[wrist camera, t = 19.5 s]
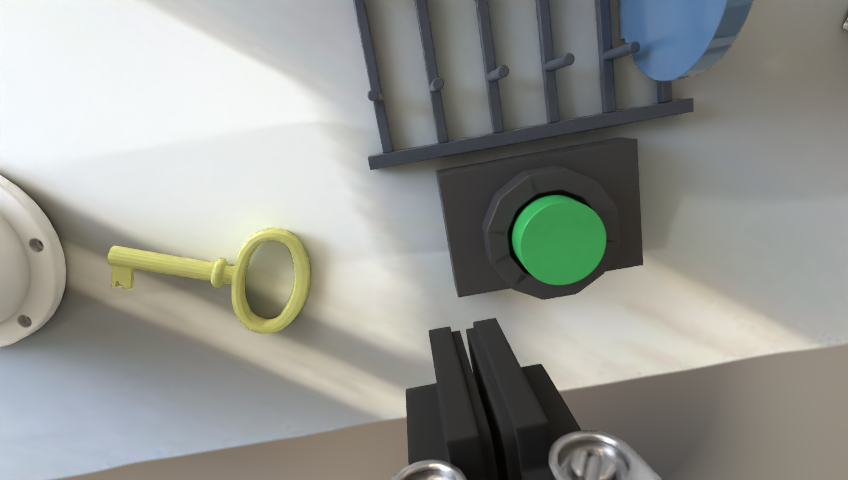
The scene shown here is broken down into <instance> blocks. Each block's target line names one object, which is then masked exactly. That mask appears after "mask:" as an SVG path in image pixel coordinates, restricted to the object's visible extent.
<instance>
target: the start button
mask: <svg viewBox="0 0 848 480" xmlns="http://www.w3.org/2000/svg"><path fill="white" fill-rule="evenodd" d="M512 245H513V249H514V252H515V254H516V256H517V257H518V259H519V260H520V261H521V263H522V264H523V265H524V267H525V268H526V269H527V270H528V272H529V273H530V274H531V275H532V276H534V277H535V278H536V279H538V280H540V281H542V282H544V283H547V284H552V285H567V284H571V283H574V282H577V281H579V280H581V279H583V278H585V277H586V276H588V275H589V274H590V273H591V272H592V271H593V270H594V269H595V268H596V267H597V266H598V264H599V263H600V261H601V259H602V257H603V255H604V252H605V248H606V231H605V227H604V225H603V222H602V220H601V219H600V217H599V216H598V215H597V213H596V212H595V211H593V210H592V209H591V208H589V207H588V206H586V205H584V204H582V203H580V202H578V201H576V200H574V199H572V198H570V197H566V196H562V195H549V196H544V197H541V198H539V199H536V200H535V201H533V202H531V203H530V204H528V205H527V206H526V207H525V208H524V209H523V210H522V211H521V213H520V214H519V216H518V217H517V219H516V221H515V223H514V226H513V230H512Z"/></svg>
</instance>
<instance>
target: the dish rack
mask: <svg viewBox="0 0 848 480" xmlns="http://www.w3.org/2000/svg"><path fill="white" fill-rule="evenodd" d="M353 1H354V6H355V11H356V17H357V22H358V27H359V32H360V37H361V42H362V47H363V52H364V57H365V62H366V67H367V72H368V77H369V82H370V88H371V90H370V91H369V92H368V98H369V100H371V101H373V103H374V108H375V113H376V118H377V123H378V128H379V133H380V138H381V143H382V148H383V153H381V154H375V155H370V156H369V157H368V161H369V166H370V169H371V170H373V169H378V168H384V167H389V166H395V165H400V164H406V163H411V162H417V161H422V160H428V159H434V158H439V157H445V156H450V155H456V154H461V153H467V152H472V151H478V150H483V149H489V148H494V147H500V146H505V145H511V144H516V143H522V142H527V141H533V140H538V139H544V138H549V137H555V136H560V135H566V134H572V133H577V132H583V131H588V130H594V129H599V128H605V127H610V126H616V125H621V124H627V123H632V122H638V121H643V120H649V119H654V118H660V117H665V116H671V115H676V114H682V113H687V112H692V111H693V98H686V99H678V100H672V89H671V81H657V87H658V103H656V104H650V105H645V106H639V107H634V108H628V109H623V110H617V111H616V108H615V91H614V75H613V59H617V58H620V57H624V56H627V55H631V54H634V53H637V52H638V51H639V50H640V44H639V42H637V41H633V42H630V43H627V44H624V45H621V46H618V47H615V48H613V49H612V41H611V25H610V8H609V0H595V5H596V20H597V35H598V50H599V65H600V80H601V94H602V109H603V113H601V114H595V115H590V116H584V117H579V118H573V119H568V120H562V121H559V110H558V99H557V88H556V77H555V70H557V69H560V68H563V67H566V66H569V65H571V64H573V62H574V56H573V54H571V53H568V54H565V55H563V56H560V57H558V58H555V59H554V56H553V45H552V34H551V23H550V12H549V1H548V0H536V9H537V19H538V29H539V39H540V50H541V60H542V70H543V80H544V90H545V100H546V110H547V120H548V123H546V124H540V125H535V126H529V127H524V128H518V129H513V130H507V131H504V129H503V121H502V113H501V105H500V97H499V89H498V81H497V80H499V79H501V78H504V77H506V76H507V75H508V74H509V69H508V67H507V66H505V65H502V66H500V67H498V68H497V69H496V65H495V57H494V49H493V41H492V33H491V25H490V17H489V9H488V1H487V0H475V1H476V8H477V16H478V23H479V31H480V39H481V46H482V54H483V61H484V69H485V77H486V84H487V92H488V99H489V107H490V115H491V122H492V130H493V133H491V134H485V135H480V136H474V137H469V138H463V139H458V140H452V141H448V137H447V130H446V124H445V118H444V111H443V105H442V99H441V92H440V89H441V88H442V87H443V85H444V81H443V79H442V78H439V77H438V73H437V67H436V61H435V54H434V48H433V42H432V35H431V29H430V23H429V16H428V10H427V4H426V0H415V4H416V10H417V16H418V22H419V28H420V34H421V41H422V47H423V53H424V59H425V65H426V71H427V77H428V83H429V89H430V95H431V101H432V108H433V114H434V120H435V126H436V132H437V138H438V143H436V144H430V145H425V146H419V147H414V148H408V149H403V150H397V151H393V147H392V142H391V137H390V132H389V127H388V121H387V116H386V111H385V106H384V100H383V95H382V90H381V85H380V79H379V74H378V69H377V64H376V59H375V53H374V48H373V43H372V38H371V32H370V27H369V22H368V17H367V11H366V6H365V1H364V0H353Z"/></svg>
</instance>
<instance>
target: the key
mask: <svg viewBox="0 0 848 480" xmlns="http://www.w3.org/2000/svg"><path fill="white" fill-rule="evenodd" d="M269 240H274V241H279V242H282V243H283V244H285V245H286V246H287V247H288V248H289V250H290V252H291V255H292V258H293V262H294V270H295V280H294V286H293V291H292V294H291V297H290V299H289V302H288V304H287V305H286V307H285V308H284V310H283V311H282V313H281V314H280V315H279V316H278V317H276V318H273V319H264V318H261V317H259V316H257V315H255V314H254V313H253V312H252V311H251V309H250V307H249V305H248V302H247V300H246V295H245V276H246V271H247V267H248V264H249V260H250V258H251V256H252V254H253V252H254V251H255V250H256V248H257V247H258V246H259V244H261V243H262V242H264V241H269ZM108 263H109V264H110V265H112V277H111V286H112V287H116V286H118V285H120V286H123V288H124V289H131V288H132V287H133V279H134V268H135V269H141V270H147V271H153V272H159V273H165V274H171V275H177V276H184V277H190V278H196V279H202V280H208V281H211V283H212V286H213V287H215V288H219V287H220V286H222V284H223V283H226V284H232V288H231V291H232V303H233V308H234V311H235V313H236V315H237V317H238V319H239V321H240V322H241V323H242V324H243V325H244V326H245V327H246V328H248V329H249V330H252V331H254V332H257V333H264V334H270V333H274V332H277V331H279V330H281V329H283V328H284V327H286V326H287V325H288V324H289V323H291V322H292V321H293V320H294V319H295V317H296V316H297V315H298V314H299V312H300V311H301V310H302V308H303V306H304V304H305V301H306V298H307V295H308V291H309V286H310V263H309V260H308V256H307V254H306V251H305V249H304V247H303V245H302V244H301V242H300V240H299V239H298V238H297V237H296V236H295V235H294V234H292V233H291V232H289V231H288V230H284V229H280V228H268V229H264V230H262V231H259V232H257V233H255V234H254V235H252V236H251V237H250V238H249V239H248V240H247V241H246V243H245V244H244V245H243V246H242V248H241V250H240V252H239V254H238V257H237V260H236V263H235V266H231V265H227V261H226V259H224V258H220V259H218V260H217V261H216V263H213V262H207V261H201V260H196V259H190V258H184V257H178V256H172V255H166V254H161V253H155V252H149V251H143V250H137V249H132V248H126V247H120V246H113V247H112V248H111V249H110V251H109V254H108ZM119 282H120V284H119Z"/></svg>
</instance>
